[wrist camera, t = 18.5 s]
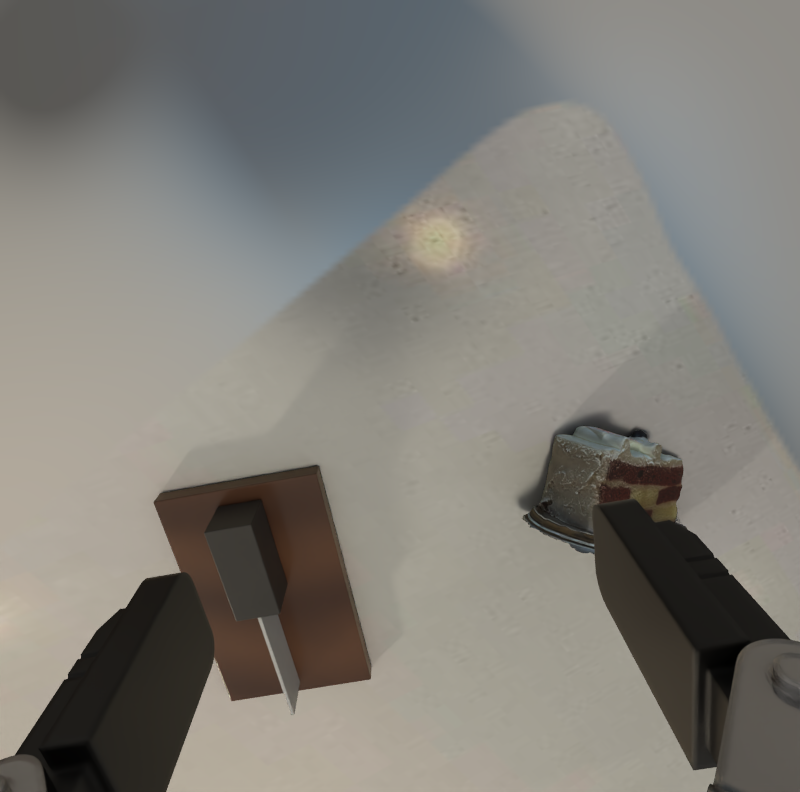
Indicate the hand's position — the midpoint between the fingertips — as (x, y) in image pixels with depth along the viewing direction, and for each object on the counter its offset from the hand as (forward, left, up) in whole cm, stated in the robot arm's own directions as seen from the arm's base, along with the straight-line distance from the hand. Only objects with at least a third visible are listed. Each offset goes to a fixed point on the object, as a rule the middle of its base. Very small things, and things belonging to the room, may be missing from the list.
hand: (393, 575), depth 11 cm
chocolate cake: (+13, +13, -24) cm, 31 cm away
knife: (+18, -12, -23) cm, 31 cm away
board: (+18, -12, -24) cm, 32 cm away
